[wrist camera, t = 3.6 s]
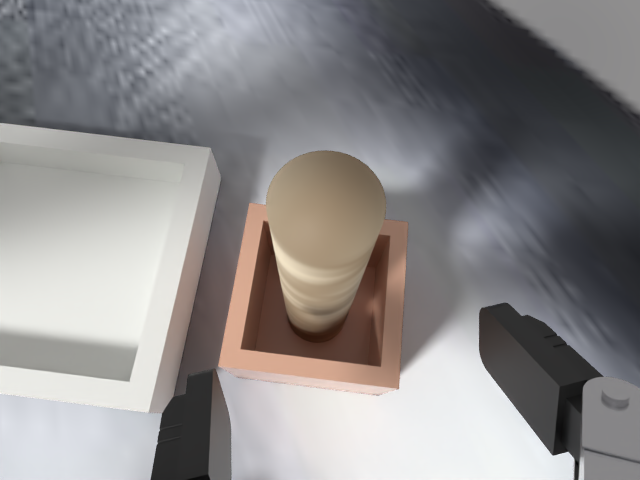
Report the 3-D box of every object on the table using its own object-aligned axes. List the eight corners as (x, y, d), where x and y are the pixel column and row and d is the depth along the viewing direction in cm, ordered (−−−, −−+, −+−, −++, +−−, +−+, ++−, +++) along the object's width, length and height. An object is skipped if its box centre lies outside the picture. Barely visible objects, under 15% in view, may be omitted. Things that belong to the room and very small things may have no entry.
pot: (237, 377, 25) (218, 366, 20) (260, 246, 28) (249, 203, 22) (378, 395, 25) (398, 388, 19) (387, 261, 28) (408, 222, 22)
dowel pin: (283, 338, 25) (256, 251, 12) (291, 281, 26) (275, 144, 13) (342, 346, 25) (381, 266, 12) (348, 288, 26) (389, 157, 13)
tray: (-203, 365, 25) (-280, 357, 22) (-90, 140, 30) (-139, 106, 26) (169, 413, 24) (148, 412, 21) (221, 177, 29) (210, 147, 26)
